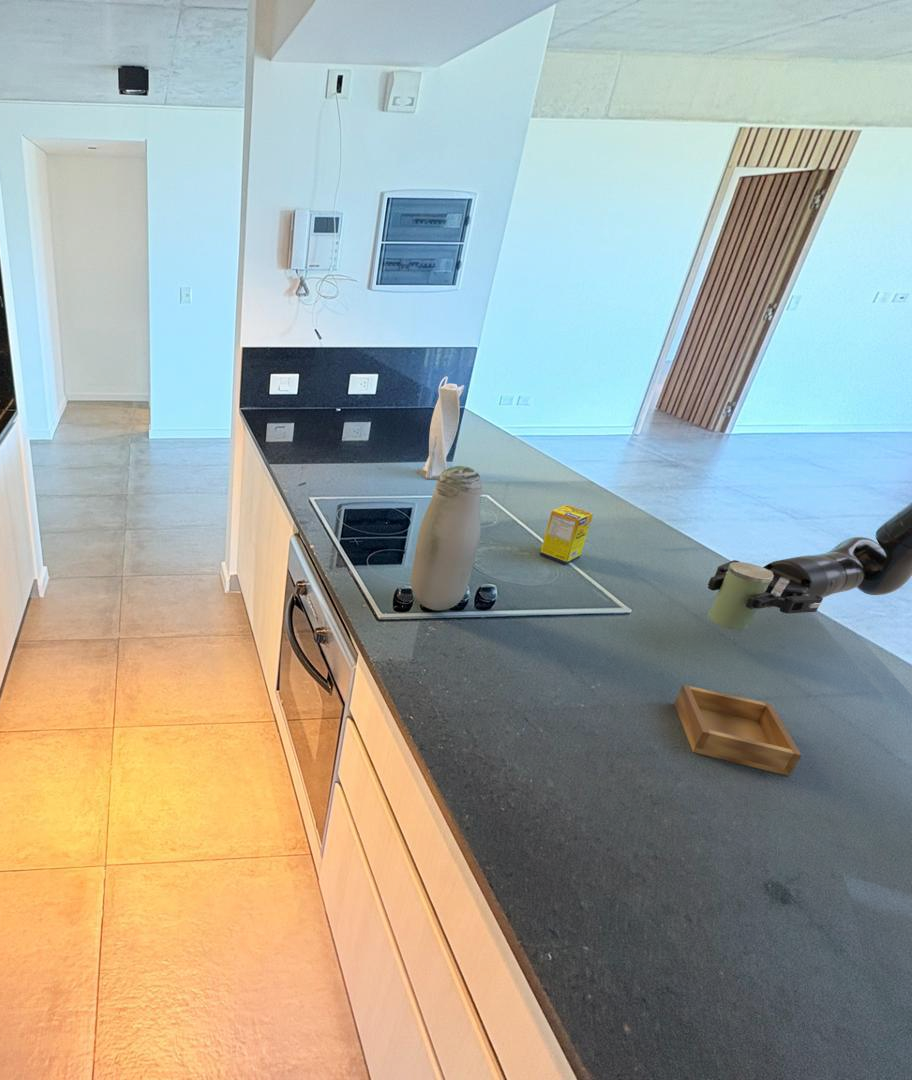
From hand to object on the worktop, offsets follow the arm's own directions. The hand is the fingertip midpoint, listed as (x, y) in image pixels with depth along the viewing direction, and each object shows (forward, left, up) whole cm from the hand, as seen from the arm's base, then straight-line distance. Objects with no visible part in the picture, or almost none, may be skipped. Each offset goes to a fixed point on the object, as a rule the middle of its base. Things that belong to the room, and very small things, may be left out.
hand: (730, 593), depth 101 cm
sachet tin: (-2, -2, -6) cm, 7 cm away
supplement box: (+20, -28, -11) cm, 36 cm away
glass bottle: (+44, +4, -11) cm, 46 cm away
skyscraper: (+50, -71, -11) cm, 88 cm away
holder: (+3, +24, -11) cm, 27 cm away
